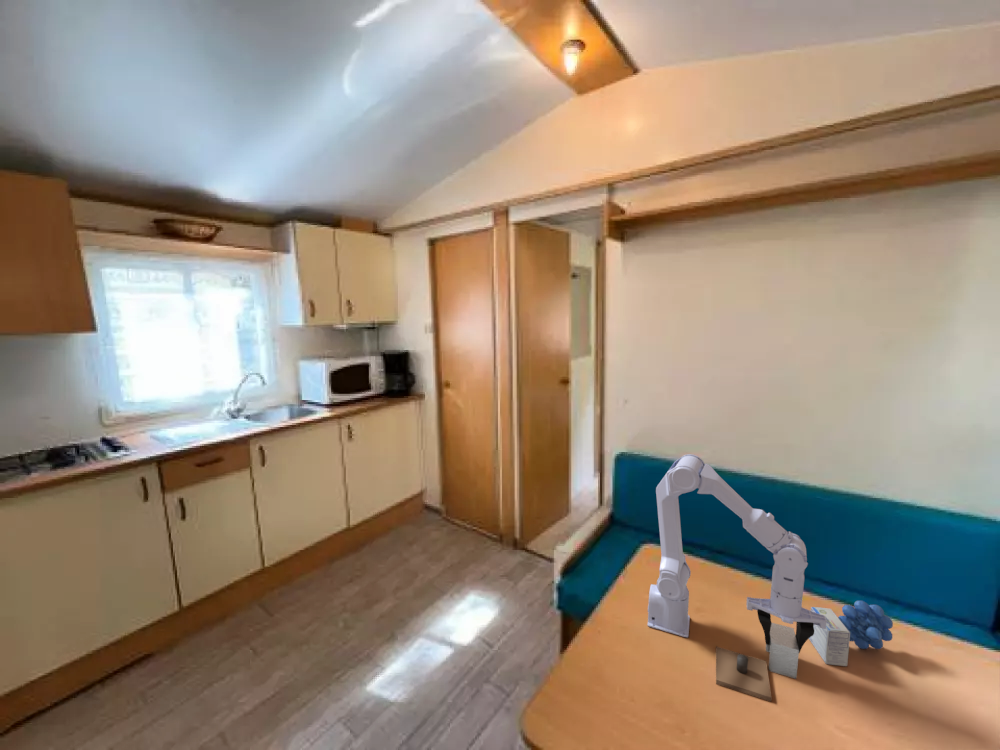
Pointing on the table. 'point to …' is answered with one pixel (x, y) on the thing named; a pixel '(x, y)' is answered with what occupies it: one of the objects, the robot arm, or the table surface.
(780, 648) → the brushed steel brick
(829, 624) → the medicine box
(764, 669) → the thin tan panel
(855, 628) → the grapes
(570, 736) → the table surface
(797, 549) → the robot arm
